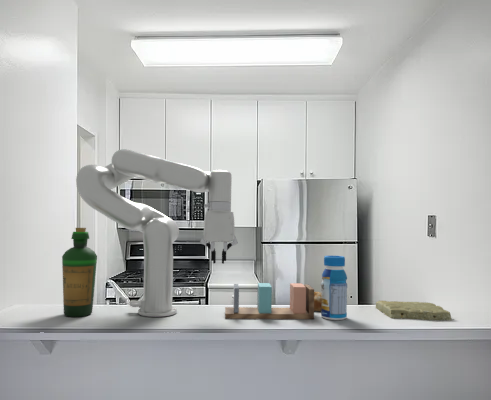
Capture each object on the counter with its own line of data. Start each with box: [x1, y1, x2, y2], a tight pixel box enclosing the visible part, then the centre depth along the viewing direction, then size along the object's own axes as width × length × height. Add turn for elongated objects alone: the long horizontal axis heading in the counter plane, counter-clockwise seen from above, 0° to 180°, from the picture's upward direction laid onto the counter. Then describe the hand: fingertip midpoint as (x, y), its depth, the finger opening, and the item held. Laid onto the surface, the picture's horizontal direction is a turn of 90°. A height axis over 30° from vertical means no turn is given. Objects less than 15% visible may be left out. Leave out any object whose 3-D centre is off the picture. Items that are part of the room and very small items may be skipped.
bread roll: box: [314, 291, 322, 312], centre depth 156 cm, size 10×10×8 cm
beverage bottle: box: [320, 255, 348, 321], centre depth 142 cm, size 8×8×20 cm
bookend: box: [232, 283, 240, 313], centre depth 144 cm, size 2×9×8 cm, turn 3°
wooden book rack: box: [224, 283, 315, 320], centre depth 144 cm, size 28×10×10 cm, turn 93°
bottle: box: [61, 227, 98, 318], centre depth 141 cm, size 11×11×28 cm
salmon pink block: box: [289, 282, 306, 314], centre depth 145 cm, size 4×8×8 cm, turn 2°
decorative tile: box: [375, 300, 452, 321], centre depth 150 cm, size 19×20×4 cm
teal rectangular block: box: [256, 282, 273, 313], centre depth 144 cm, size 4×8×8 cm, turn 2°
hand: (218, 262), depth 144 cm, fingers closed
